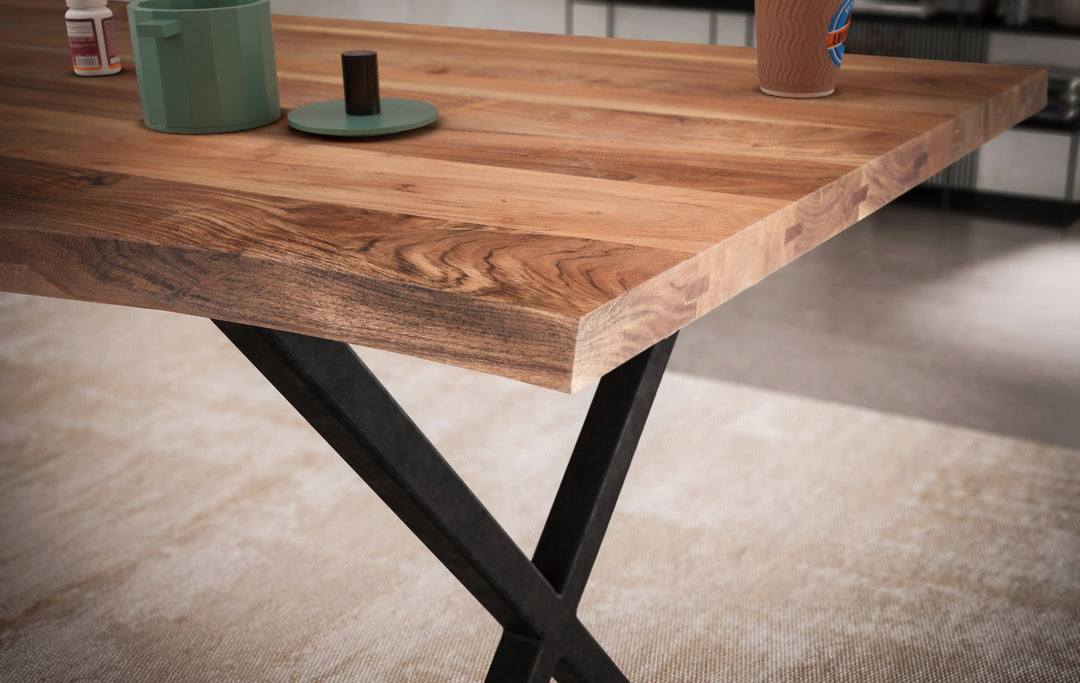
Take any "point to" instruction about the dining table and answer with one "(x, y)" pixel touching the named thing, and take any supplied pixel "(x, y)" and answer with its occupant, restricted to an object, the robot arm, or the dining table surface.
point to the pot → (205, 64)
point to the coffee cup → (801, 45)
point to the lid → (362, 105)
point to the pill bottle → (92, 38)
